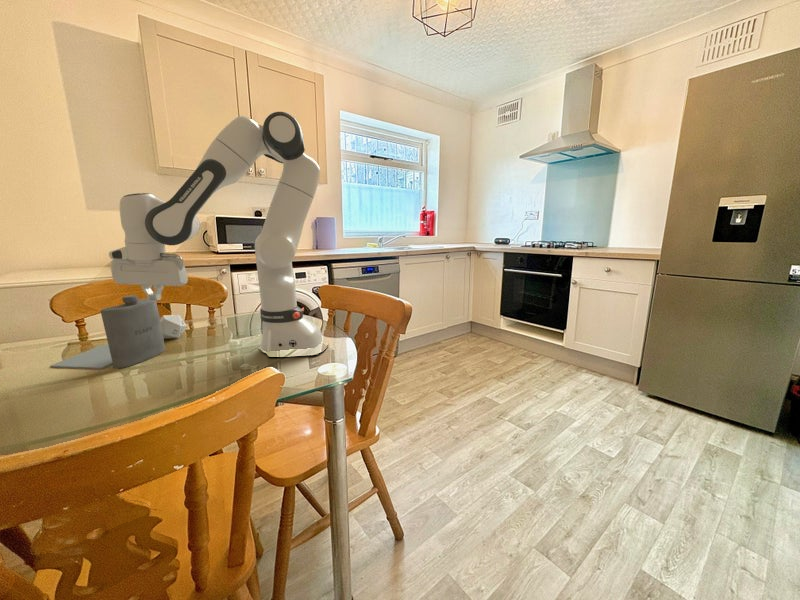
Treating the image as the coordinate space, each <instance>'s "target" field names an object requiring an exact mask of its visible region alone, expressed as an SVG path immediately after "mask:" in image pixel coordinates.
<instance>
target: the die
mask: <svg viewBox="0 0 800 600" xmlns="http://www.w3.org/2000/svg"><path fill="white" fill-rule="evenodd" d="M159 318H160V323H161V328H162V334H163V339H164V340H165V339H180V337H181V336H182V334H183V332H185V330H186V328H187V327H188V326H187V323H185V321H184V319H183V318H182V317H181V315H180V314H167V315H166V314H165V315H164V314H163V315H162V316H161V317H159Z"/></svg>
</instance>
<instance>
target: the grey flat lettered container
mask: <svg viewBox="0 0 800 600" xmlns="http://www.w3.org/2000/svg"><path fill="white" fill-rule="evenodd" d="M121 300H122V302H123V303H124V304H119V305H114V306H108V307H104V308H103V309H101V310H100V315H101V319H102V323H103V328H104V333H105V337H106V341H107V345H109V349H110V354H111V358H112V362H113V364H112V366H113V368H115V369H125V368H128V367H132V366H135V365H138V364H141V363H143V362H145V361H147V360H150V359H153V358H154V357H157V356H159V355H160V354H162V353H164V352H165V350H166V346H165V345H166V343H165V339H163V334H162V328H161V323H160V318H161V317H160V313H159V312H160V311H159V309H158V304H157V300H148V299H147V298H143V299H142V298H141V299H139V297H138V296H137V295H135V294H131V295H124V296H123V297H122V299H121Z"/></svg>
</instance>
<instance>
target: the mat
mask: <svg viewBox="0 0 800 600" xmlns="http://www.w3.org/2000/svg"><path fill="white" fill-rule="evenodd" d="M110 366H113V362H112V358H111V354H110V349H109V345H108V344H100V345H98V346H96V347H93V348H91V349H88V350H86V351H83V352H80V353H79V354H76V355H73V356H71V357H68V358H67V359H64V360H62V361H58V362H57V363H54V364H53V363H52V364H51V365H49V367H50V368H58V369H59V368H61V369H84V370H85V369H87V370H89V369H90V370H104V369H106V368H108V367H110Z"/></svg>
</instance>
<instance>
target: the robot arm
mask: <svg viewBox="0 0 800 600" xmlns="http://www.w3.org/2000/svg"><path fill="white" fill-rule="evenodd" d="M305 152H306V148H305V141H304V135H303V131H302V127H301V125H300V124H299V122H298V121H297V119H296V118H295V117H294V116H292V115H291V114H290V113H287V112H285V111H274V112H272V113H270V114H269V115H268V116H267V117H266V118H265V120H264V121H263V124H262V125H261V124H259V123H257V122H256V121H255V120H254V119H251V118H250V117H248V116H242V115H240V116H237V117H235V118H234V119H233V120H232V121H230V122H229V123H227V125H226V126H225V127H224V128H223V129H222V130H221V131H220V132H219V133H218V134H217V136H216V137H215V138H214V139H213V141H212V142H211V143H210V145H209V146H208V148H207V150H206V151H205V152H204V155H203V156H202V158H201V160H200V161H199V163H198V164H197V166H196V169H195V170H194V171H193V172H192V174H191V175H190V176H189V178H188V179H187V180H185V182H184V183H183V184H182V186H181V187H180V188H178V190H177V191H176V192H175V194H173V196H172V197H171V198H170V199H168V201H164V200H163V199H160V198H158V197H157V196H155V195H154V194H152V193H147V192H141V193H139V192H137V193H130V194H126V195H123V196H122V197H121V198H120V200H119V216H120V217H119V218H120V222H121V228H122V230H123V231H124V232H123V233H124V235H125V236H124V244H125V246H123V247H121V248H116V249H114V250H111V251H109V252H108V256H109V258H110V259H111V261H110V271H111V277H112V279H113V281H114V283H116V284H117V285H133V286H135V285H136V286H137V285H139V286H140V287H141V290H142V291H143V292H144V294H145V295H146V299H148V300H156V301H160V300H161V299H162V292H163V291H164V286H166V287H182V286H185V285H187V283H188V282H189V278H188V273H187V270H186V269H187V268H186V267H185V263H184V259H183V257H181V256H180V255H179V254H178V253H167V252H166V247H165V246H166V245H167V246H177V245H181V244H183V243H185V242H186V241H189V240H190V239H193V238H194V237H196V236H197V235H198V234H199V232H200V229H201V222H200V220H199V218H198V216H197V214H198V213H199V212H200V210H201V209H202V208H203V207H204V205H205V204H206V203H207V202H208V201H209V200H210V198H211V197H212V195H214V193H216V192H218V191H219V190H220V189H222V188H224V187H226V186H230V185H233V184H235V183H237V182H239V180H240V179H242V178H243V177H244V176H245V175H246V174H247V172H249V170H250V169H251V167H253V165H254V164H255V162H256V161H258V159H259V158H260V157H261V156H265V157H266V158H269V159H271V160H273V161H275V162H277V163H279V164H283V167H282V172H281V176H280V179H279V180H278V184H277V186H276V189H275V191H274V193H273V198H272V199H271V202H270V204H269V206H268V211H267V213H266V217H265V220H264V223H263V226H262V229H261V232H260V233H259V235H258V236H257V237H256V238H255V241H254V252H255V253H254V254H255V262H256V263H255V264H256V271H257V277H258V289H259V297H260V298H259V299H260V309H259V310H260V311H259V312H260V323H261V325H262V334H261V335H262V336H261V344H260V348H261V349H262V350H264V351H266V352H270V351H280V350H289V349H307V348H315V347H317V346H318V345H319V344H321V342H322V340H323V339H322V338H323V336H322V335H323V334H322V330H321V329H320V326H318V325H316V324H315V323H313V322H312V321H310V320H309V319H307V317H305V316H304V311H305V308H304V307H302V308H301V307H300V306H298V304H297V302H298V301H297V289H296V280H295V276H294V269H293V261H294V259H295V256H296V253H297V250H298V247H299V243H300V240H301V237H302V234H303V228H304V225H305V222H306V219H307V216H308V214H309V211H310V208H311V205H312V203H313V200H314V198H315V196H316V192H317V189H318V185H319V181H320V174H321V168H320V166H319V164H318V163H317V161H315V159H313V158H312V157H311V156H308V155H307V154H306V153H305ZM152 287H153V290H154V291H153V290H152Z"/></svg>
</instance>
